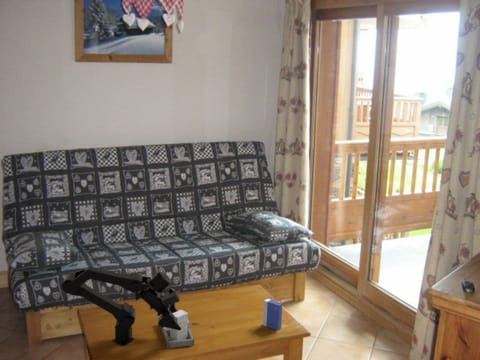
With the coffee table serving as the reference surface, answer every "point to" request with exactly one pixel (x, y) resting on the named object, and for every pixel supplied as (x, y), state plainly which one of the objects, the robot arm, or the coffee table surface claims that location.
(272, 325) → the walkman
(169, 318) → the robot arm
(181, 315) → the skincare box
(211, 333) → the coffee table surface
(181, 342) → the frame
